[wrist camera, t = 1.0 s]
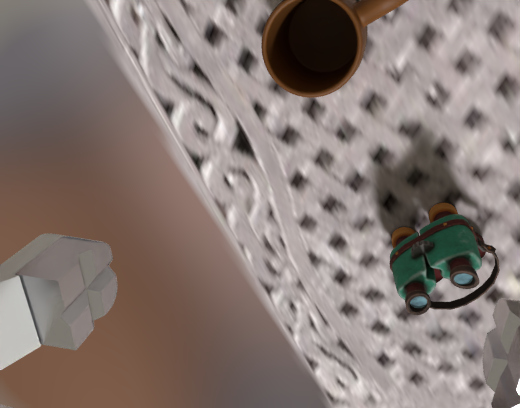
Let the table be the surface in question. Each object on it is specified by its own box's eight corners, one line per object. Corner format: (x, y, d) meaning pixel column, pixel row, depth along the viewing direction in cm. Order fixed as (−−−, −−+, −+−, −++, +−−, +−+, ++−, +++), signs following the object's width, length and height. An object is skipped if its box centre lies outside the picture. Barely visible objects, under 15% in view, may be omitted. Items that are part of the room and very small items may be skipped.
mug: (392, -66, 36) (395, -80, 27) (431, 22, 38) (445, 32, 29) (268, 18, 41) (239, 27, 32) (308, 91, 43) (291, 117, 34)
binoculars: (448, 367, 41) (379, 301, 38) (430, 290, 50) (373, 233, 47) (544, 325, 37) (474, 249, 34) (506, 250, 46) (448, 184, 43)
